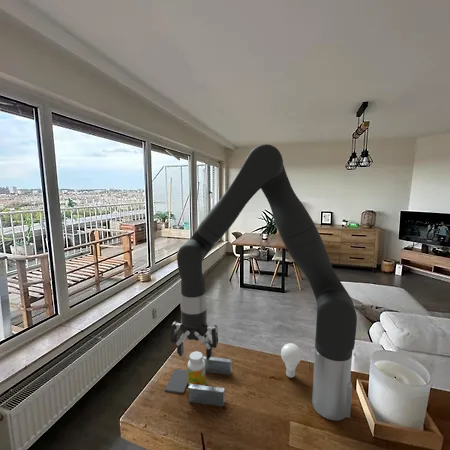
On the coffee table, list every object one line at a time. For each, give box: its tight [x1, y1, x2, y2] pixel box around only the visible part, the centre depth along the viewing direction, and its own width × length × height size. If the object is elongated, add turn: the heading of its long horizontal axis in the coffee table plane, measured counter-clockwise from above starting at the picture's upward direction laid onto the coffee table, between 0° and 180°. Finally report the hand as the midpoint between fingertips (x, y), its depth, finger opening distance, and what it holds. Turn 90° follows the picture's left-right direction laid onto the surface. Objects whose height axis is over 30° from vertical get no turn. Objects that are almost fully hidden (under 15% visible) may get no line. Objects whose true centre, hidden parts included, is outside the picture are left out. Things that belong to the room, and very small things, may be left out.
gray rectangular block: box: [164, 368, 189, 395], centre depth 84 cm, size 6×9×1 cm, turn 170°
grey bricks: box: [188, 355, 232, 407], centre depth 82 cm, size 10×14×4 cm
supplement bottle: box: [187, 351, 206, 387], centre depth 82 cm, size 5×5×10 cm
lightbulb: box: [280, 342, 303, 378], centre depth 85 cm, size 6×6×11 cm
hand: (194, 356), depth 82 cm, fingers open, 8 cm apart
